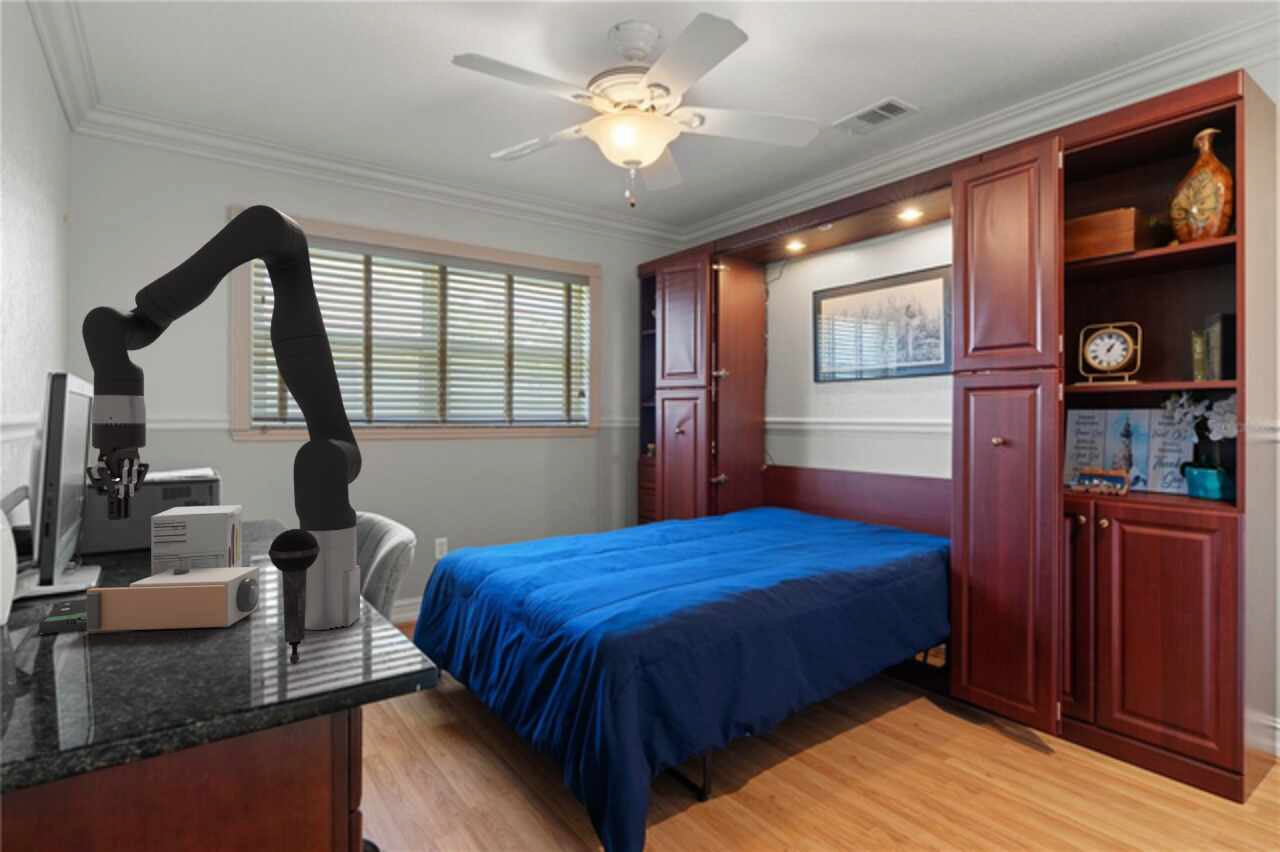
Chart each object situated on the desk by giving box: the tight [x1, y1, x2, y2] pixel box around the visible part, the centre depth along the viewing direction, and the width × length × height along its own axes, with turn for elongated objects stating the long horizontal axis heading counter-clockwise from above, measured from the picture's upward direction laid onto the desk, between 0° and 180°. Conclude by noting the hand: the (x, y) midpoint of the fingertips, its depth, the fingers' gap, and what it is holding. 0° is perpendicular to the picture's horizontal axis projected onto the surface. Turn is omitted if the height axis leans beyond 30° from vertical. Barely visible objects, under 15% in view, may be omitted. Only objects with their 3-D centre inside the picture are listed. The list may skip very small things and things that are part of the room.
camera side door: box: [86, 585, 227, 632], centre depth 113 cm, size 22×2×7 cm, turn 97°
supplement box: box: [150, 504, 243, 577], centre depth 137 cm, size 17×13×18 cm
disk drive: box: [38, 600, 87, 634], centre depth 120 cm, size 10×3×15 cm
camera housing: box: [129, 566, 260, 631], centre depth 120 cm, size 18×12×9 cm
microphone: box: [267, 528, 320, 664], centre depth 98 cm, size 7×7×20 cm
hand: (119, 518), depth 116 cm, fingers closed
